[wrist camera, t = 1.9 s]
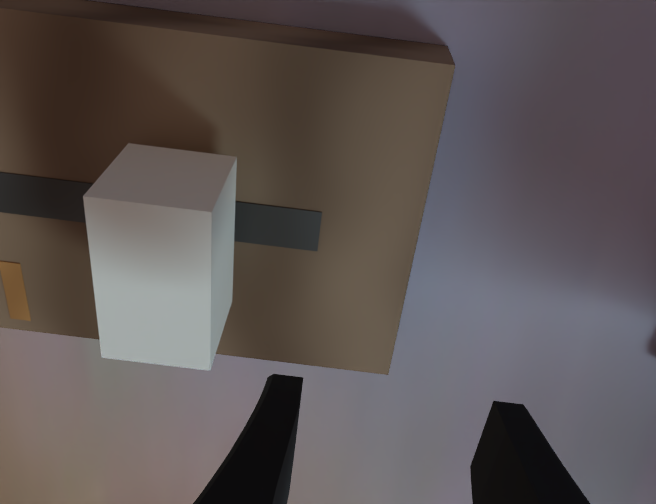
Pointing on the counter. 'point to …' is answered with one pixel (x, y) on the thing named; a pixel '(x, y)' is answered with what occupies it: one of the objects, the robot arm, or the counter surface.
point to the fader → (162, 254)
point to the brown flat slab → (232, 140)
